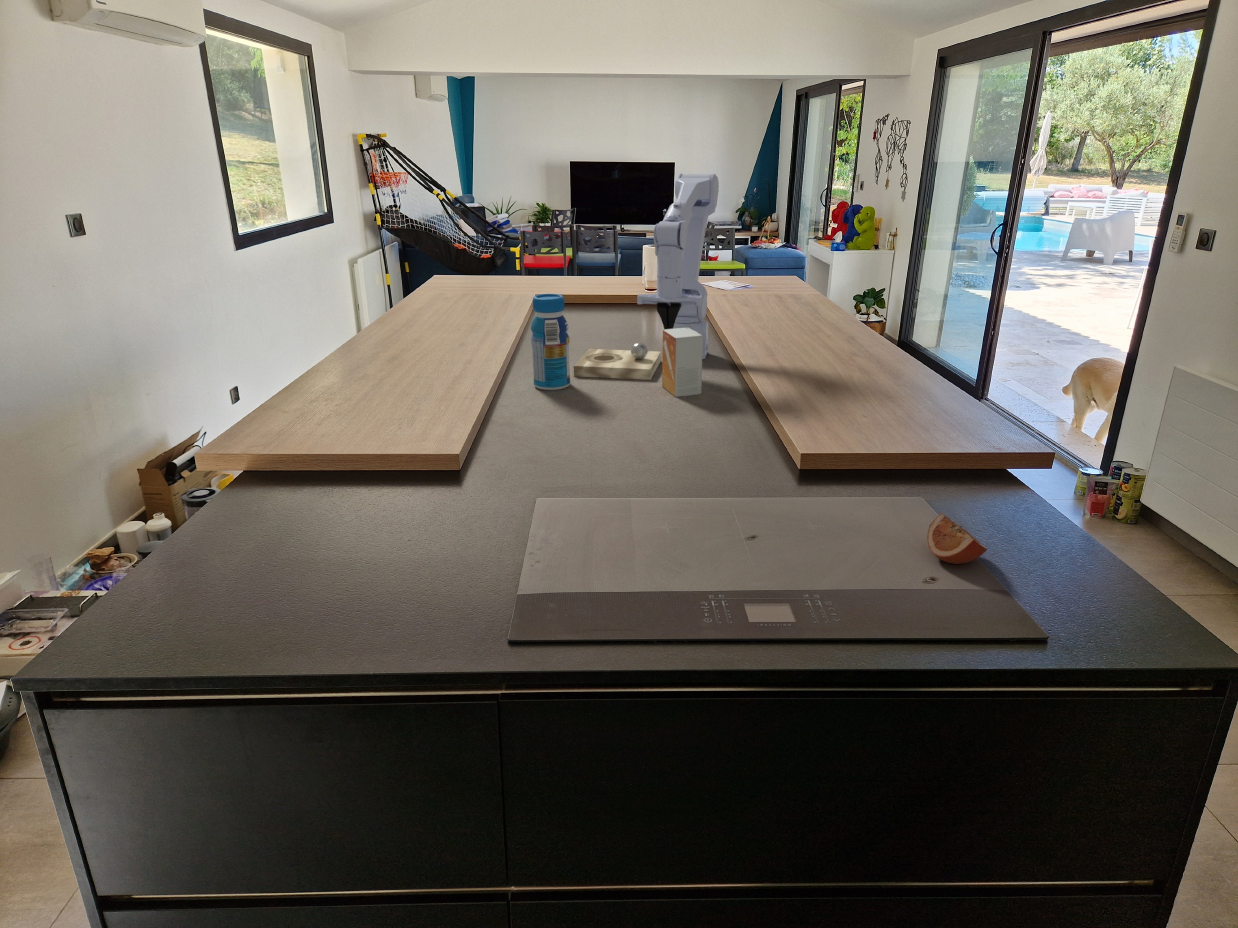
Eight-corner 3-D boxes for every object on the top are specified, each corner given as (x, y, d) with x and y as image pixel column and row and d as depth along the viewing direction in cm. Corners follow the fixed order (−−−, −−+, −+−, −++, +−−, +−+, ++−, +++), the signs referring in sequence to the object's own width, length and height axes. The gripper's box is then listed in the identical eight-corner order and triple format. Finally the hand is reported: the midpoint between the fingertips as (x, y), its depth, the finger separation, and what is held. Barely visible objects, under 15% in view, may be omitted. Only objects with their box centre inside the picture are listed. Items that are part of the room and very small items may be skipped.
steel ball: (648, 357, 194) (648, 341, 192) (646, 362, 190) (646, 345, 189) (632, 356, 195) (632, 340, 193) (629, 361, 191) (629, 344, 190)
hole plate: (660, 361, 200) (660, 351, 199) (650, 379, 186) (650, 369, 185) (589, 358, 203) (589, 348, 202) (573, 376, 189) (573, 365, 188)
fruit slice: (915, 545, 111) (920, 512, 109) (961, 542, 112) (967, 509, 110) (945, 575, 104) (950, 541, 102) (994, 572, 104) (1001, 537, 102)
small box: (661, 387, 180) (662, 329, 175) (688, 384, 182) (689, 327, 177) (674, 397, 173) (675, 337, 168) (702, 394, 175) (703, 335, 170)
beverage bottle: (525, 388, 181) (520, 298, 173) (546, 378, 187) (542, 291, 180) (558, 393, 177) (554, 301, 169) (577, 383, 184) (575, 294, 176)
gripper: (634, 278, 182) (634, 338, 187) (699, 280, 179) (698, 340, 184) (640, 273, 188) (640, 331, 193) (702, 275, 185) (701, 333, 190)
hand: (668, 335), depth 189 cm, fingers closed
